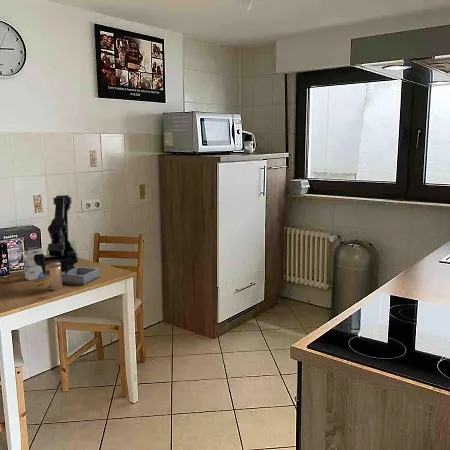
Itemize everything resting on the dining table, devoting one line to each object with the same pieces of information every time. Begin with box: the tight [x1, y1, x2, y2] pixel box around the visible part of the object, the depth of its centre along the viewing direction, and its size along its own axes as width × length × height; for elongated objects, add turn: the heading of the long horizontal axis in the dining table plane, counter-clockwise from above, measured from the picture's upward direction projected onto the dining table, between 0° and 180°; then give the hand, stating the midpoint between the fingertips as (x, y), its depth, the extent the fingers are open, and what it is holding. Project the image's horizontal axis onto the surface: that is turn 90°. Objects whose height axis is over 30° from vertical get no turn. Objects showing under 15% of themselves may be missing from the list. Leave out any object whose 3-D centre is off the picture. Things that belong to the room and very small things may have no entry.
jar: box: [48, 261, 63, 291], centre depth 206 cm, size 5×5×12 cm
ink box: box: [22, 247, 46, 281], centre depth 223 cm, size 8×5×15 cm, turn 136°
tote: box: [61, 266, 101, 286], centre depth 219 cm, size 13×13×4 cm
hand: (55, 274), depth 205 cm, fingers open, 9 cm apart
